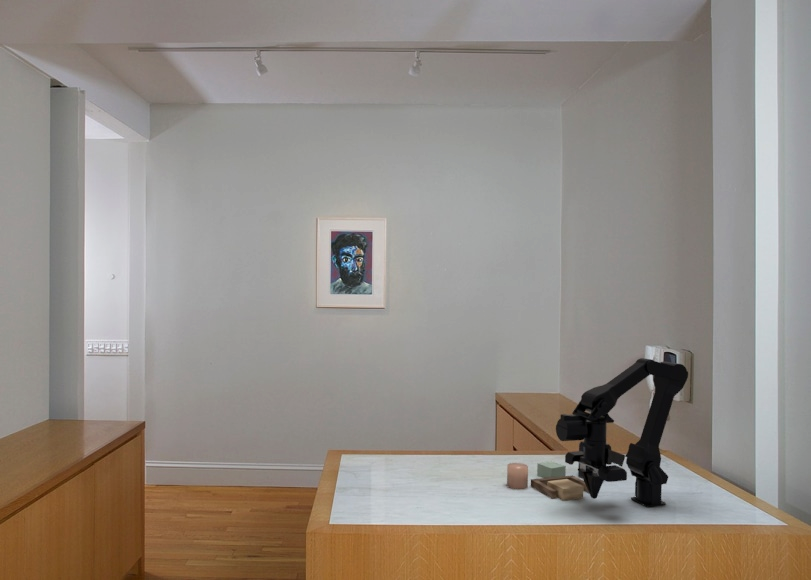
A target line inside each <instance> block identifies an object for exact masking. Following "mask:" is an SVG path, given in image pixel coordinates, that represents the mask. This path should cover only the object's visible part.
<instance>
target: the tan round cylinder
mask: <svg viewBox="0 0 811 580" xmlns="http://www.w3.org/2000/svg"><path fill="white" fill-rule="evenodd" d="M506 468H507V469H506V471H507V473H506V475H507V476H506V486H507V488H509V489H513V490H520V491H521V490H526V489H529V488H528V487H529V486H528V485H529V465H527V464H525V463H521V462H509V463H508V464H507V467H506Z"/></svg>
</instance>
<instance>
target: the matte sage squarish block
mask: <svg viewBox="0 0 811 580" xmlns="http://www.w3.org/2000/svg"><path fill="white" fill-rule="evenodd" d="M566 470H567V469H566V465H565V464H561V463H558V462H555V461H552V460H551V461H545V462H543V461H542V462H537V470H536V471H537V474H536V475H537V477H539V478H551V477H561V476H566Z"/></svg>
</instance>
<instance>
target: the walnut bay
mask: <svg viewBox="0 0 811 580" xmlns="http://www.w3.org/2000/svg"><path fill="white" fill-rule="evenodd" d="M562 479H568V480H571V481H573V482H575V483H577V484H580V485H582V486H584V491H583V492H586V493H588V494H589V495H590V493H589V491H588V489H587V486H586V484H585V482H584V480H583V479H580V478H579V477H576V476H574V475H565V476H561V477H551V478H542V477H539V478H533V479H530V487H531V488H532V489H534V490H536V491H538V492H539V493H542V494H544V495H545V496H547V497H548V498H550V499H552V500H554V499H558V498H557V491H556V490H554V489H552V488H551V487H549V486H547V481H554V480H562Z"/></svg>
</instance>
